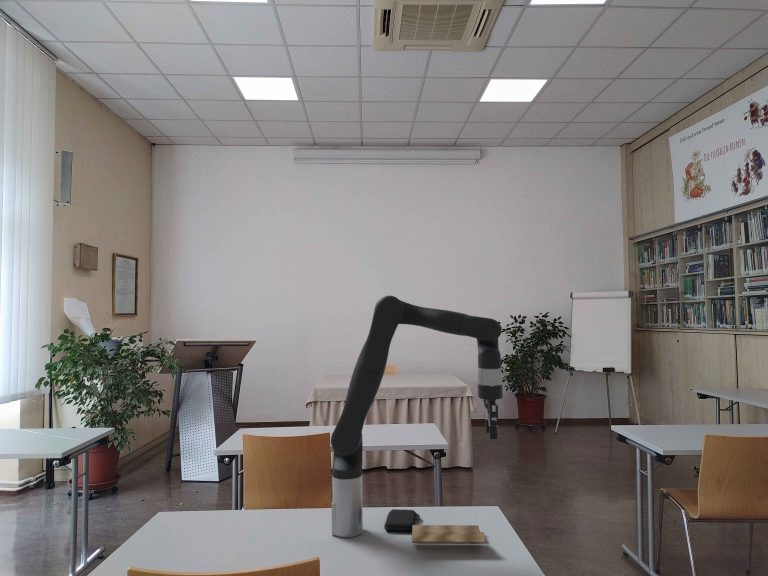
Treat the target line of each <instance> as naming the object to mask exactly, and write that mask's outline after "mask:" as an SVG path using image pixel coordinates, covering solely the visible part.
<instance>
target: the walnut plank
mask: <svg viewBox="0 0 768 576" xmlns="http://www.w3.org/2000/svg"><path fill="white" fill-rule="evenodd" d="M412 532H481V531H480V526H479V525H477V524H476V525H474V524H473V525H472V524H471V525H469V524H465V525H463V524H459V525H458V524H455V525H453V524H452V525H451V524H450V525H449V524H448V525H447V524H444V525H441V524H438V525H437V524H436V525H435V524H434V525H433V524H432V525H431V524H429V525H427V524H416V525H412Z"/></svg>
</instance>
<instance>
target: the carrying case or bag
mask: <svg viewBox="0 0 768 576" xmlns="http://www.w3.org/2000/svg"><path fill="white" fill-rule="evenodd" d="M418 520H421V516H420V514H419V513H418V512H416V511H415V510H414V509H399V508H398V509H394V508H393V509H391V510H390V511H389V512H388V514H387V516H386V519H385V523H384V526H383V527H384V528H383V529H384V530H385V532H386V533H389V532H393V533H394V532H395V533H394V534H412V525H417V522H418Z"/></svg>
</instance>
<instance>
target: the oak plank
mask: <svg viewBox="0 0 768 576" xmlns="http://www.w3.org/2000/svg"><path fill="white" fill-rule="evenodd" d="M411 541H412V543H414V544H483V543H485V542H486V541H485V532H484V531H480V532H412V533H411Z"/></svg>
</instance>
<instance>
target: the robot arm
mask: <svg viewBox="0 0 768 576" xmlns="http://www.w3.org/2000/svg"><path fill="white" fill-rule="evenodd" d="M399 325H409V326H418V327H423V328H426V329H430V330H432V331H433V330H434V331H437V332H440V333H445V334H450V335H456V336H461V337H470V338H473V339H476V344H477V397H478V398H479V399H480V400H483V417H484V420H485V422H484V423H485V432H486V433H487V434H489V435H488V436H489V439H490V440H497V439H498V426H499V425H500V424H499V405H498V404H497V403H496V400H502V399H503V395H504V394H503V393H504V392H503V391H504V389H503V373H502V356H501V352H500V347H499V337H500V336H501V335H502V325H501V324H500V322H498V321H497V320H496V319H495V318H489V317H482V316H475V315H471V314H470V315H469V314H466V313H464V312H458V311H454V310H447V309H440V308H430V307H425V306H419V305H415V304H411V303H409V302H406V301H403V300H401V299H399V298H398V297H396V296H394V295H383V297H381V298H379V299H378V300H377V301H376V303H375V306H374V309H373V315H372V319H371V325H370V327H369V332H368V335H367V338H366V339H365V342H364V344H363V346H362V349H361V351H360V353H359V356H358V358H357V361H356V363H355V366H354V369H353V371H352V374H351V378H350V382H349V384H348V385H349V386H348V390H347V393H346V397H345V402H344V405H343V409H342V411H341V414H340V417H339V419H338V421H337V423H336V425H335V427H334V430H333V431H332V432H331V436H330V446H331V448H332V450H333V461H332V469H331V470H332V473H331V474H332V475H331V476H332V502H331V535H332V536H336V537H340V538H352V537H357V536H359V535H361V534H362V533H363V531H364V530H363V529H364V521H363V516H364V514H363V509H364V508H363V506H364V505H363V463H364V462H363V454H364V453H363V451H364V450H363V448H364V447H363V428H364V424H365V420H366V417H367V414H368V412H369V410H370V408H371V406H372V404H373V402H374V400H375V398H376V395H377V394H378V390H379V388H380V386H381V383H382V381H383V377H384V375H385V370H386V367H387V362H388V358H389V353H390V348H391V343H392V340H393V337H394V335H395V332H396V330H397V328H398V326H399Z"/></svg>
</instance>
